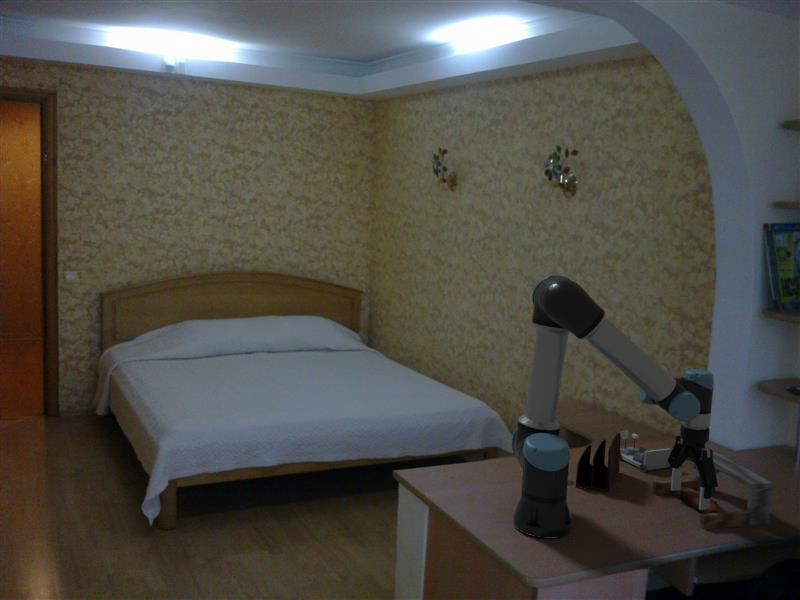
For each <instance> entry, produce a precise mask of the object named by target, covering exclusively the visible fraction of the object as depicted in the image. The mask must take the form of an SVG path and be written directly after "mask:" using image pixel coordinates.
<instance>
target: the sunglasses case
mask: <svg viewBox="0 0 800 600" xmlns="http://www.w3.org/2000/svg"><path fill="white" fill-rule="evenodd" d="M674 497H676V498H678V499H679V500H681V501H683V502H685V503H687V504H689V505H690V506H692V508H694V509H696V510H698V511H699V512H700V513H701V514H707V513H721V512H729V510H727V509H726V508H724V507H723V506H722V505H720V504H719V503H718V501H717V500H715V499H714V498H712V497H711V498H710V506H709V509H703V510H700V509H699V500H700V492H698V491H696V490H693V489H690V488H686V487H681V490H677V491H676V492H675V494H674Z"/></svg>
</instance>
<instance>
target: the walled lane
mask: <svg viewBox="0 0 800 600" xmlns="http://www.w3.org/2000/svg"><path fill="white" fill-rule="evenodd" d="M701 459H702V457H701ZM713 463H714V468H715V473H716V477H717V475H718V471H719V472H721V473H723V474H725V475H727V476H728V477H730V478H732V479H733V480H735V481H737V482H739V483H741V484H742V485H744V486H746V487H747V488H748V496H747V497H748V498H747V506H746V507H747V508H746V510H736V511H735V510H734V511H728V512H721V513H707V514H703V513H700V518H699V519H700V521H699V522H700V523H699V527H700V528H701V529H702V530H706V529H719V528H727V527H728V528H730V527H742V526H743V527H745V526H756V525H768V524H769V523H770V515H771V505H772V504H771V503H772V495H773V486H774V485H773V484H774V483H773V482H772V481H769V480H768V479H767V478H764V477H763V476H761V475H759V474H757V473H755V472H753V471H751V470H750V469H748V468H745V467H744V466H742V465H741V464H738V463H736V462H735V461H733V460H730V459H729V458H727V457H725V456H723V455H721V454H719V453H717V452H716V451H715V452H714V451H713ZM706 483H707V481H706ZM701 485H703V484H702V481H701V478H700V475H699V472H698V469H697V466H696V468H695V478H690V479H688V478H687V479H681V487H686V488H690V489H693V490H696V491H698V492H700V488H701ZM716 489H717V487H712V490H711V492H715V491H716ZM675 492H676V491H672V490H671V480H658V481H656V480H655V481H653V482H652V494H653V495H654V496H656V495H657V494H661V495H669V494H668V493H675ZM657 496H658V495H657Z"/></svg>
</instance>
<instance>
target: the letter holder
mask: <svg viewBox="0 0 800 600" xmlns="http://www.w3.org/2000/svg"><path fill="white" fill-rule="evenodd" d="M621 439H622V438H621V434H620V433H619V432H617V433H616V434H615V435H614V437H613V439H612V440H611V443H610V445H609V447H608V452H607V466H606V461H605V460H606V446H607V445H606V444H607V440H606V439H603V440H601V442H600V443H599V444H598V446H597V448H596V450H595V452H594V454H593V457H592V464H591V455H592V445H591V444H588V445H587V446H586V448H585V449H584V450H583V451H582V453H581V455H580V457H579V459H578V462H577V466H576V467H577V468H576V476H575V486H576V488H578V487H581V488H580V489H584V488H586V489H585V490H589V489H590V491H594V492H602V493H606V494H609V493H610V492H611V489H612V487H613V485H614V483H615V481H616V478H617V477H618V475H619V473H620V461H621V460H620V453H621V452H620V448H621Z"/></svg>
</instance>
